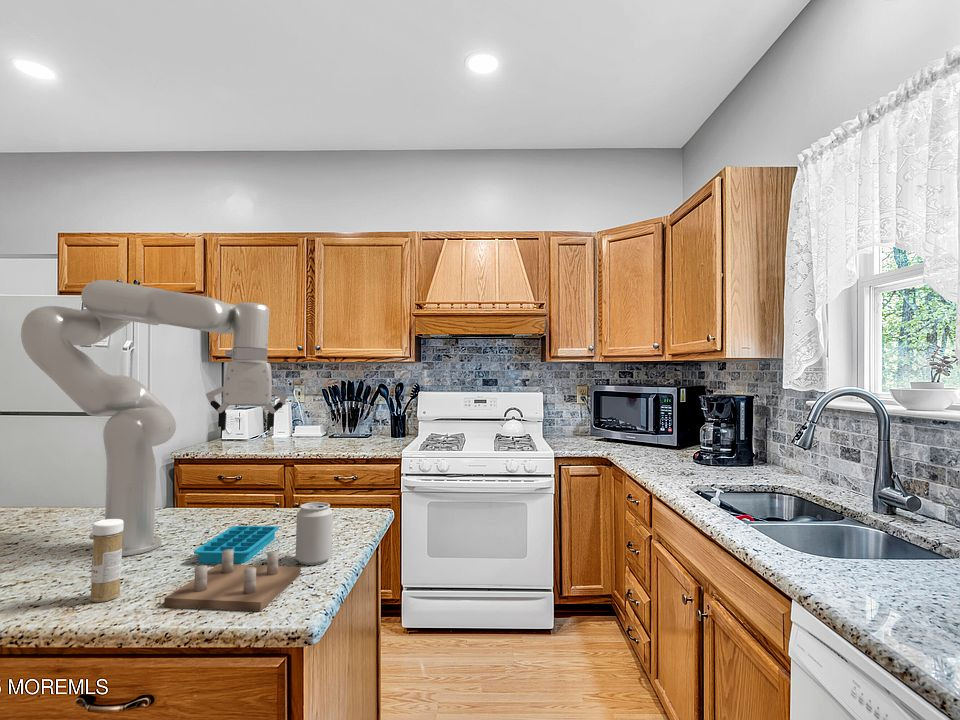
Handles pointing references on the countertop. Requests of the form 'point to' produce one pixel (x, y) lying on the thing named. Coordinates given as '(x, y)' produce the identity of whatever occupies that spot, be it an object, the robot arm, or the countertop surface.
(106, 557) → the sprinkles bottle
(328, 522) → the can
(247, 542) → the ice cube tray
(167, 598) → the peg board
